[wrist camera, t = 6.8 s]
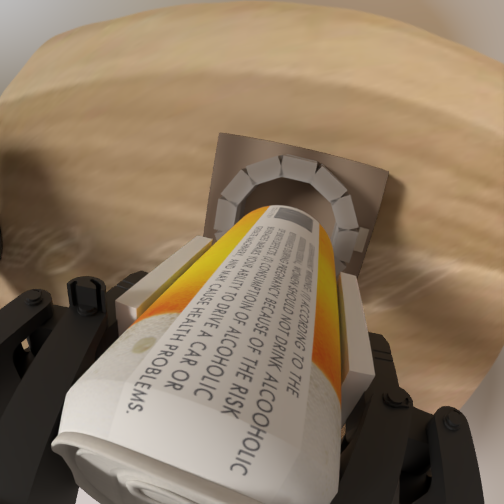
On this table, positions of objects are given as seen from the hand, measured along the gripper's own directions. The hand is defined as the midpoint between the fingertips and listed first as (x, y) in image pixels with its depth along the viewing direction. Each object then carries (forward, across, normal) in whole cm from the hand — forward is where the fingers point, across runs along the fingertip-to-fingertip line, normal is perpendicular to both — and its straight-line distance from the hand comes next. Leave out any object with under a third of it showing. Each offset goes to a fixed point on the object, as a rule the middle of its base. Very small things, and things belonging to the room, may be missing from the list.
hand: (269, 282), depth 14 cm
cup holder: (+14, 0, 0) cm, 14 cm away
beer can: (+4, 0, 0) cm, 4 cm away
